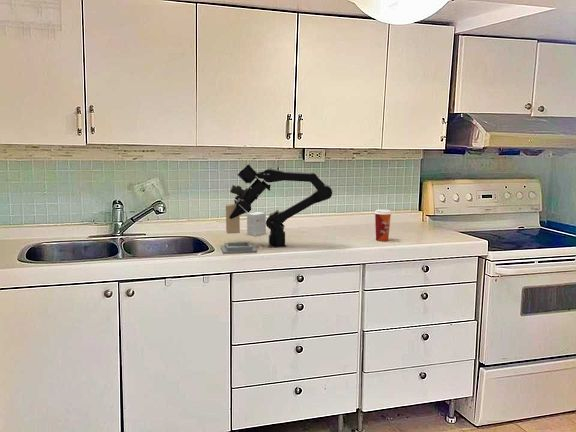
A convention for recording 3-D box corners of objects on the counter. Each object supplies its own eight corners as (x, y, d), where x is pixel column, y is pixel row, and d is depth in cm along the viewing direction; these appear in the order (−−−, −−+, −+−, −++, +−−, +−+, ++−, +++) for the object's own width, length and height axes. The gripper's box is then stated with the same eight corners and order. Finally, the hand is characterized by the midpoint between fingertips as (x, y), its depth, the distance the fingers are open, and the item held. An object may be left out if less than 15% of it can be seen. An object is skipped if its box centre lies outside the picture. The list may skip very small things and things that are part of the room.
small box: (257, 232, 280) (257, 211, 278) (266, 234, 276) (266, 212, 275) (246, 235, 274) (246, 213, 272) (255, 236, 270) (255, 214, 269)
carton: (238, 230, 250) (238, 203, 248) (239, 233, 244) (239, 205, 242) (226, 231, 249) (225, 204, 247) (227, 233, 243) (226, 206, 241)
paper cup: (384, 242, 257) (385, 212, 255) (370, 240, 262) (371, 210, 260) (393, 240, 262) (394, 210, 260) (379, 238, 268) (380, 208, 265)
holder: (252, 246, 247) (252, 241, 246) (256, 252, 235) (256, 247, 235) (220, 247, 244) (220, 242, 244) (223, 253, 232) (223, 248, 232)
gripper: (239, 176, 253) (214, 202, 252) (242, 180, 234) (216, 207, 234) (256, 193, 255) (232, 218, 255) (262, 198, 237) (236, 225, 237)
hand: (229, 217), depth 245 cm, fingers closed on carton, 5 cm apart
